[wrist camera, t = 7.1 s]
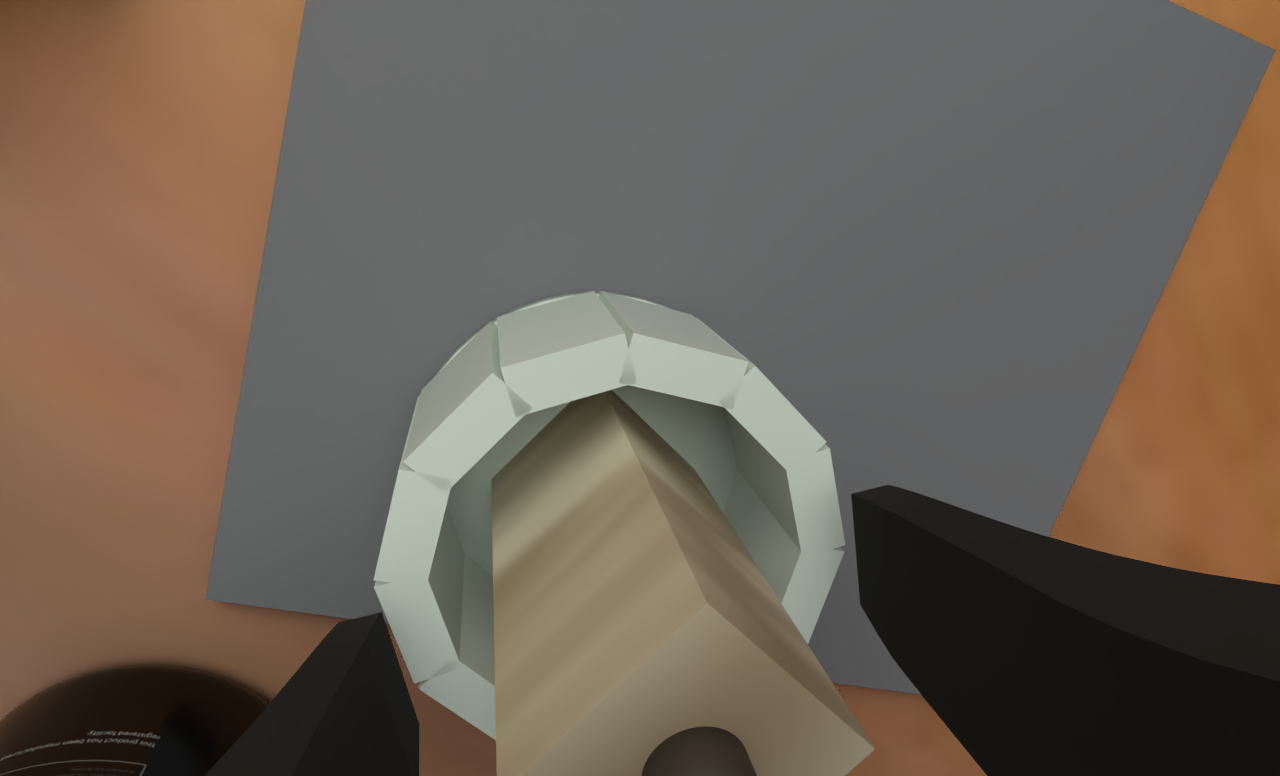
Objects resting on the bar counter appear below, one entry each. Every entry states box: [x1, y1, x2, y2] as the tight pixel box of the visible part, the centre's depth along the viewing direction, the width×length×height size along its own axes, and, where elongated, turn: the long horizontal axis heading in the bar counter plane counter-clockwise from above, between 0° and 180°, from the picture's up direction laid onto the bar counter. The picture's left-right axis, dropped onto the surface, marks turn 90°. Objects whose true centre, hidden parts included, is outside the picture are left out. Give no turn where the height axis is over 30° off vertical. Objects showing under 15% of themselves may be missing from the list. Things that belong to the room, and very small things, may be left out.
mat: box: [206, 0, 1275, 695], centre depth 16 cm, size 19×17×1 cm
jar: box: [374, 291, 845, 740], centre depth 14 cm, size 8×8×4 cm
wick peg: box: [491, 390, 875, 776], centre depth 12 cm, size 3×3×9 cm
